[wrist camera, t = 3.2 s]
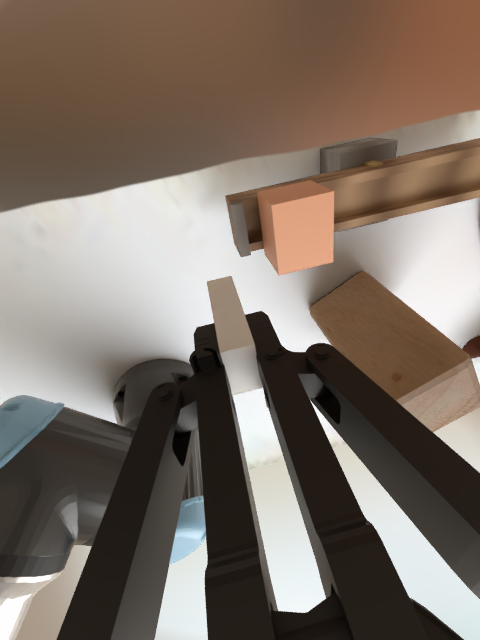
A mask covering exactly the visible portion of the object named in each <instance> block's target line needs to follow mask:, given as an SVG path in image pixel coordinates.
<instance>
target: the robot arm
mask: <svg viewBox="0 0 480 640" xmlns="http://www.w3.org/2000/svg"><path fill="white" fill-rule="evenodd" d="M207 285H208V291H209V296H210V302H211V307H212V312H213V318H214V323H213V324H209V325H205V326H201V327H197V329H196V331H195V333H194V344H195V351H194V352H193V353H192V354H191V356H190V359H189V361H190V364H191V365H189V364H186V363H183V362H180V361H175V360H153V361H148V362H145V363H142V364H139V365H137V366H135V367H133V368H131V369H130V370H128V371H127V372H126V373H125V374H124V375H123V376H122V377H121V378H120V379H119V381H118V383H117V385H116V389H115V393H114V398H113V407H114V412H115V417H116V421H117V424H115V423H112V422H109V421H106V420H103V419H100V418H97V417H94V416H91V415H88V414H85V413H82V412H79V411H76V410H73V409H70V408H67V407H64V404H63V403H57V404H56V403H53V402H49V401H45V400H42V399H38V398H35V397H31V396H24V395H22V396H16V397H13V398H10V399H8V400H7V401H5V402H4V403H3V404H1V405H0V640H15V639H16V637H17V634H18V632H19V630H20V627H21V625H22V622H23V620H24V618H25V615H26V613H27V611H28V608H29V606H30V604H31V601H32V599H33V597H34V595H35V594H36V593H37V592H38V591H39V590H40V589H41V588H43V587H44V586H45V585H47V584H48V583H50V582H51V581H52V580H54V579H55V578H57V577H58V576H59V575H60V574H62V572H63V570H64V568H65V565H66V562H67V560H68V557H69V555H70V552H71V550H72V548H73V546H74V545H86V546H92V548H91V550H90V553H89V555H88V558H87V561H86V564H85V566H84V569H83V571H82V574H81V577H80V579H79V582H78V585H77V587H76V590H75V592H74V595H73V598H72V600H71V603H70V606H69V608H68V611H67V613H66V616H65V619H64V621H63V624H62V627H61V629H60V632H59V634H58V638H57V640H154V638H155V633H156V628H157V623H158V618H159V613H160V608H161V603H162V598H163V593H164V588H165V583H166V578H167V573H168V567H169V564H172V563H174V562H176V561H178V560H180V559H182V558H184V557H186V556H187V555H189V554H190V553H192V552H193V551H195V550H196V549H197V548H198V547H199V546H200V545H201V544H202V543H203V541H204V540H205V538H206V540H207V554H208V564H207V568H206V571H205V596H206V612H207V628H208V640H464V639H462V638H461V637H460V636H459V635H458V634H456V633H455V632H454V631H453V630H451V629H450V628H449V627H448V626H447V625H446V624H444V623H443V622H442V621H441V620H440V619H438V618H437V617H436V616H435V615H434V614H433V613H431V612H430V611H429V610H427V609H426V608H425V607H424V606H422V605H421V604H419V603H418V602H416V601H415V600H413V599H411V598H409V596H408V594H407V592H406V590H405V588H404V586H403V584H402V582H401V580H400V578H399V576H398V574H397V571H396V569H395V567H394V565H393V563H392V561H391V559H390V557H389V555H388V553H387V551H386V548H385V546H384V544H383V542H382V540H381V538H380V536H379V535H378V533H377V531H376V529H375V528H374V526H373V525H372V524H371V523H370V522H369V521H367V520H366V518H365V517H364V515H363V513H362V511H361V509H360V507H359V505H358V502H357V500H356V498H355V496H354V494H353V492H352V489H351V487H350V485H349V483H348V481H347V479H346V477H345V475H344V472H343V470H342V468H341V466H340V464H339V462H338V460H337V457H336V455H335V453H334V451H333V449H332V447H331V444H330V442H329V440H328V438H327V436H326V434H325V432H324V429H323V427H322V425H321V423H320V421H319V419H318V416H317V414H316V412H315V410H314V408H313V406H312V404H311V401H312V403H313V404H314V405H315V406H316V407H317V409H318V410H319V411H320V412H321V413H322V415H323V416H324V417H325V418H326V419H327V421H328V422H329V423H330V424H331V425H332V427H333V428H334V429H335V430H336V431H337V432H338V434H339V435H340V436H341V437H342V438H343V440H344V441H345V442H346V443H347V444H348V446H349V447H350V448H351V449H352V450H353V452H354V453H355V454H356V455H357V456H358V458H359V459H360V460H361V461H362V462H363V463H364V465H365V466H366V467H367V468H368V469H369V471H370V472H371V473H372V474H373V475H374V477H375V478H376V479H377V480H378V481H379V483H380V484H381V485H382V486H383V487H384V489H385V490H386V491H387V492H388V493H389V495H390V496H391V497H392V498H393V499H394V501H395V502H396V503H397V504H398V505H399V507H400V508H401V509H402V510H403V511H404V513H405V514H406V515H407V516H408V517H409V519H410V520H411V521H412V522H413V523H414V525H415V526H416V527H417V528H418V529H419V531H420V532H421V533H422V534H423V535H424V537H425V538H426V539H427V540H428V541H429V542H430V544H431V545H432V546H433V547H434V548H435V550H436V551H437V552H438V553H439V554H440V555H441V557H442V558H443V559H444V560H445V562H446V563H447V564H448V565H449V566H450V568H451V569H452V570H453V571H454V572H455V573H456V574H457V575H458V577H459V578H460V579H461V580H462V581H463V582H464V583H465V584H466V586H467V587H468V588H469V589H470V590H471V591H472V592H473V593H474V594H475V595H476V596H477V597H478V598H479V599H480V473H479V472H478V471H477V470H475V469H474V468H473V467H472V466H471V465H470V464H469V463H468V462H466V461H465V460H464V459H463V458H462V457H461V456H459V455H458V454H457V453H456V452H455V451H454V450H452V449H451V448H450V447H449V446H448V445H447V444H445V443H444V442H443V441H442V440H441V439H440V438H439V437H437V436H436V435H435V434H434V433H433V432H432V431H431V430H429V429H428V428H427V427H426V426H425V425H424V424H422V423H421V422H420V421H419V420H418V419H417V418H415V417H414V416H413V415H412V414H411V413H410V412H409V411H407V410H406V409H405V408H404V407H403V406H402V405H400V404H399V403H398V402H397V401H396V400H395V399H394V398H392V397H391V396H390V395H389V394H388V393H387V392H385V391H384V390H383V389H382V388H381V387H380V386H378V385H377V384H376V383H375V382H374V381H373V380H372V379H370V378H369V377H368V376H367V375H366V374H365V373H363V372H362V371H361V370H360V369H359V368H358V367H357V366H355V365H354V364H353V363H352V362H351V361H350V360H348V359H347V358H346V357H345V356H344V355H343V354H341V353H340V352H339V351H338V350H337V349H336V348H335V347H333V346H331V345H329V344H325V343H317V344H314V345H311V346H310V347H308V349H307V350H306V352H291V351H288V350H286V349H285V348H284V347H283V346H282V345H281V344H280V341H279V339H278V337H277V335H276V333H275V330H274V328H273V326H272V324H271V322H270V319H269V317H268V315H266V314H265V313H264V312H262V311H259V312H255V313H251V314H247V315H245V314H244V312H243V309H242V306H241V303H240V300H239V297H238V294H237V291H236V288H235V285H234V282H233V279H232V277H231V276H229V277H224V278H220V279H216V280H212V281H208V282H207ZM259 388H263V389H264V394H265V399H266V405H267V407H268V408H269V411H270V414H271V418H272V421H273V424H274V427H275V430H276V434H277V437H278V440H279V443H280V446H281V450H282V453H283V456H284V459H285V462H286V465H287V469H288V472H289V475H290V478H291V482H292V485H293V488H294V491H295V494H296V498H297V501H298V504H299V507H300V511H301V513H302V517H303V520H304V523H305V527H306V530H307V533H308V536H309V539H310V542H311V546H312V549H313V552H314V555H315V559H316V562H317V566H318V569H319V573H320V578H321V581H322V585H323V589H324V592H325V595H326V599H325V600H324V601H322V602H321V603H320V604H318V605H317V606H316V607H314V608H313V609H312V610H310V611H309V612H307V613H295V612H294V613H293V612H283V611H282V612H281V611H278V609H277V605H276V600H275V596H274V592H273V587H272V584H271V579H270V574H269V570H268V565H267V560H266V555H265V550H264V545H263V540H262V536H261V531H260V526H259V521H258V516H257V511H256V506H255V501H254V497H253V493H252V487H251V482H250V477H249V473H248V467H247V462H246V458H245V453H244V448H243V443H242V438H241V433H240V428H239V424H238V419H237V414H236V409H235V404H234V401H233V397H232V395H235V394H239V393H243V392H247V391H251V390H255V389H259ZM309 398H310V399H309ZM310 400H311V401H310Z"/></svg>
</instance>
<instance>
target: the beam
mask: <svg viewBox="0 0 480 640" xmlns="http://www.w3.org/2000/svg"><path fill="white" fill-rule="evenodd" d="M396 149H397V140H387V139H377V138H368V139H363V140H359V141H354V142H350V143H345V144H341V145H337V146H332V147H328V148H323V149H320V173H321V174H320V175H315V176H311V177H306V178H302V179H298V180H293V181H289V182H284V183H280V184H276V185H271V186H267V187H262V188H258V189H254V190H249V191H245V192H240V193H236V194H232V195H227V196H225V197H226V202H227V207H228V212H229V218H230V223H231V228H232V233H233V239H234V244H235V246H236V248H237V250H238V252H239V254H240V256H241V257H244V256H248V255H251V253H250V252H251V251H255V250H259V249H264V244H263V236H262V228H261V221H260V213H259V205H258V198H257V192H260V191H264V190H269V189H273V188H278V187H282V186H286V185H291V184H295V183H300V182H304V181H308V180H311V181H313V182H315V183H318V184H320V185H322V186H324V187H326V188H329V189H331V190H333V191H334V232H335V231H338V232H340V231H344V230H348V229H352V228H357V227H361V226H365V225H369V224H374V223H378V222H382V221H386V220H388V219H390V218H394V217H398V216H403V215H407V214H411V213H415V212H419V211H424V210H428V209H432V208H436V207H440V206H445V205H449V204H453V203H457V202H462V201H466V200H470V199H474V198H478V197H480V138H478V139H474V140H469V141H465V142H461V143H456V144H452V145H447V146H443V147H439V148H434V149H430V150H425V151H421V152H417V153H412V154H408V155H403V156H399V157H396Z"/></svg>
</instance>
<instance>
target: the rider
mask: <svg viewBox="0 0 480 640" xmlns="http://www.w3.org/2000/svg"><path fill="white" fill-rule="evenodd" d="M257 198H258V205H259V213H260V221H261V228H262V236H263V244H264V251H265V255H266V257H267V258H268V260H269V261H270V263H271V264H272V266H273V267H274V269H275V270H276V272H277V273H278V275H282V274H287V273H291V272H295V271H299V270H303V269H307V268H311V267H315V266H320V265H324V264H328V263H332V262H333V250H334V191H333V190H331V189H329V188H326V187H324V186H322V185H320V184H318V183H315V182H313V181H311V180H308V181H304V182H300V183H295V184H291V185H286V186H282V187H278V188H273V189H269V190H264V191H260V192H257Z"/></svg>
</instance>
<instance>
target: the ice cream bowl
mask: <svg viewBox="0 0 480 640" xmlns="http://www.w3.org/2000/svg"><path fill="white" fill-rule="evenodd" d="M462 350H464V351H465V352H466V353H467V354H469V356H470V358H476V357H479V356H480V336H478V337H476V338H474V339H472V340H470V341H469V342H468V343H467V344H466V345H465V346H464V347H463V349H462Z"/></svg>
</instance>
